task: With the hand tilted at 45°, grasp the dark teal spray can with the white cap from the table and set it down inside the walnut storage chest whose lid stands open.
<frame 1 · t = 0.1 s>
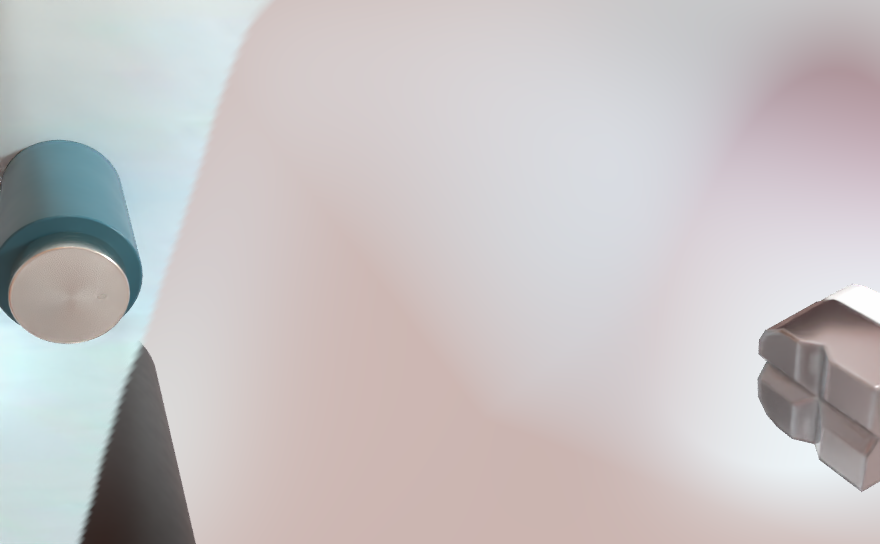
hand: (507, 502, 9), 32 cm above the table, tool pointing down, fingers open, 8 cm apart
spray can: (63, 192, 36), on the table
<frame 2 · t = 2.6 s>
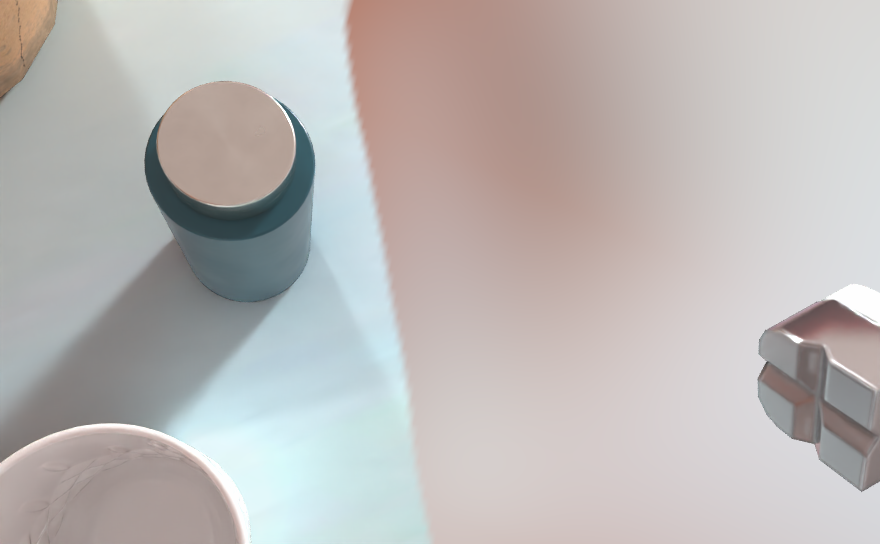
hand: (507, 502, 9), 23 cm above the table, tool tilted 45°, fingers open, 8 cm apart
spray can: (249, 243, 33), on the table
white cup: (160, 537, 30), on the table
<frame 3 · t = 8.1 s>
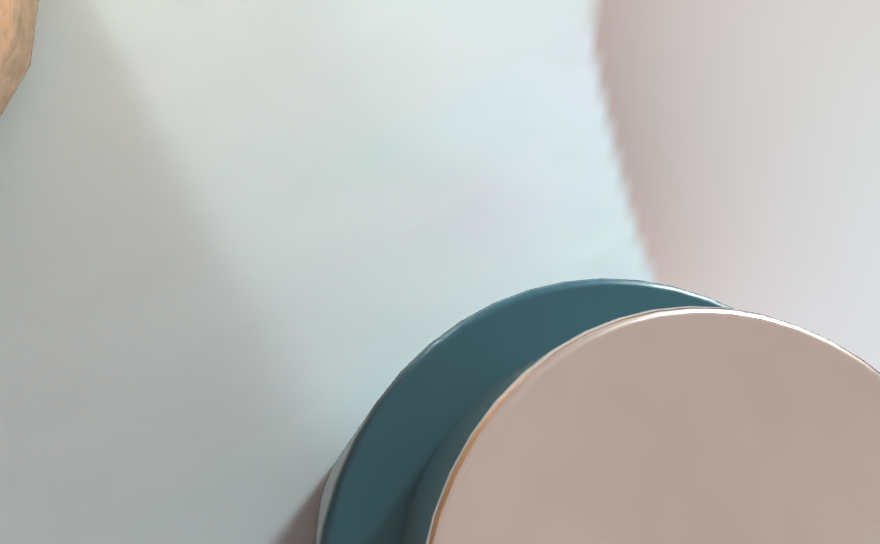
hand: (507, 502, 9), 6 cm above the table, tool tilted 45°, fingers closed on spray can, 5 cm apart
spray can: (449, 527, 15), on the table, touching gripper
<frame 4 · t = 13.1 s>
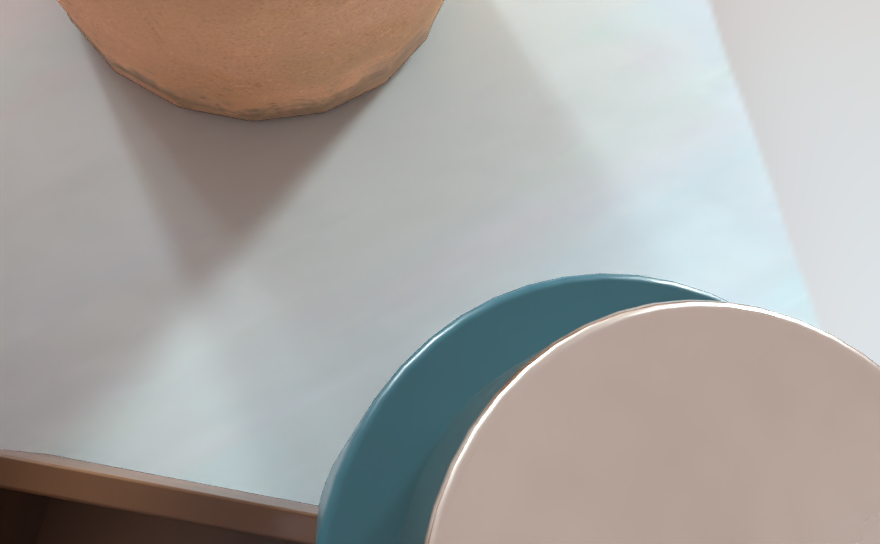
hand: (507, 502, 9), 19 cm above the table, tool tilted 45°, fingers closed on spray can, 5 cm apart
spray can: (449, 525, 15), point 13 cm above the table, touching gripper
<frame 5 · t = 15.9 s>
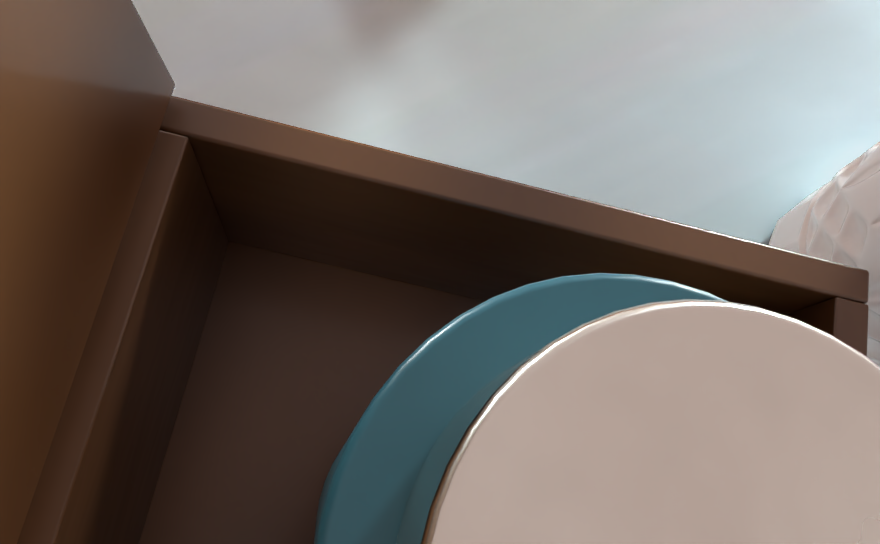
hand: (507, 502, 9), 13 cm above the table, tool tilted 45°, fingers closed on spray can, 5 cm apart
chest: (419, 504, 21), on the table
spray can: (448, 525, 15), point 7 cm above the table, touching gripper
white cup: (849, 288, 26), on the table
when the fingers open (7 cm above the table, at t = 18.0 s): spray can stays where it is, resting on chest.
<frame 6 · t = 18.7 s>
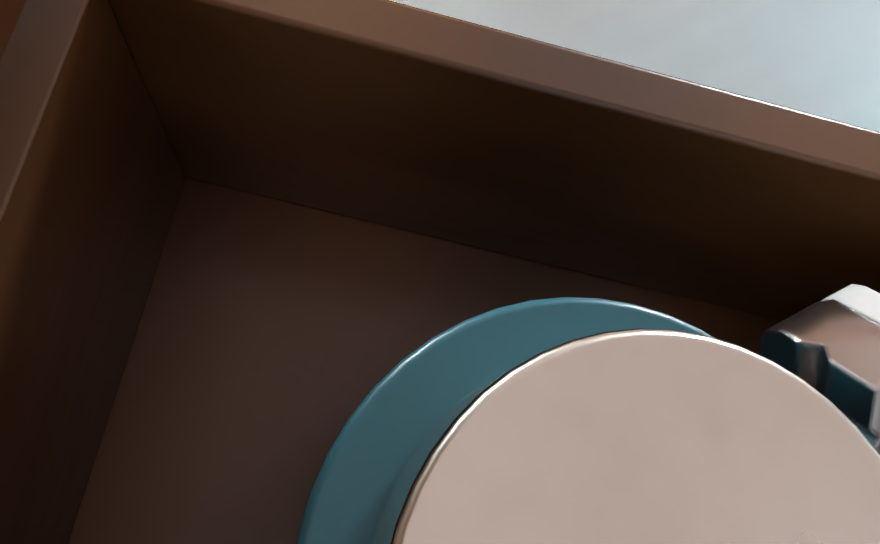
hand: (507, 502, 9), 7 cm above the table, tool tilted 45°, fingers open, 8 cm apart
chest: (437, 523, 16), on the table
spray can: (435, 529, 15), point 1 cm above the table, touching chest
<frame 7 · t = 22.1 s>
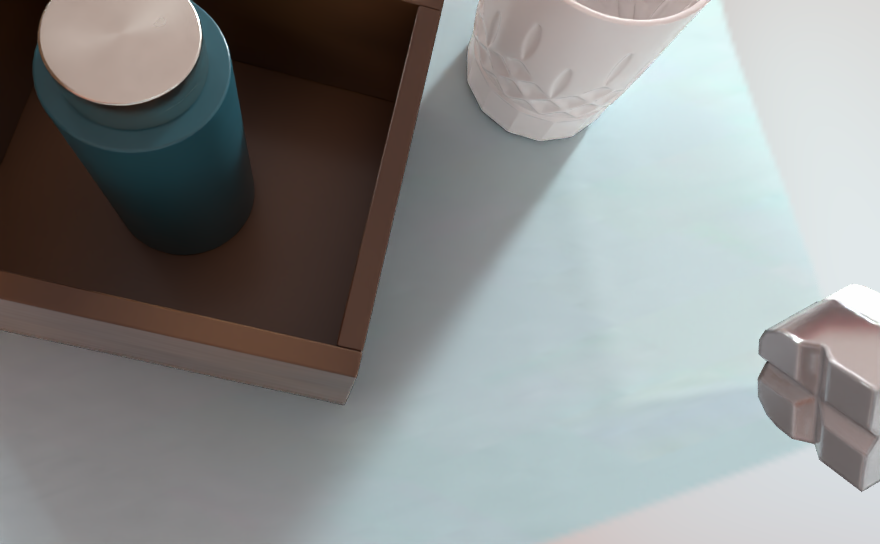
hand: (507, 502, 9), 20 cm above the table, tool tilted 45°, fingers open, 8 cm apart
chest: (194, 197, 31), on the table
spray can: (186, 192, 30), point 1 cm above the table, touching chest
white cup: (535, 77, 35), on the table
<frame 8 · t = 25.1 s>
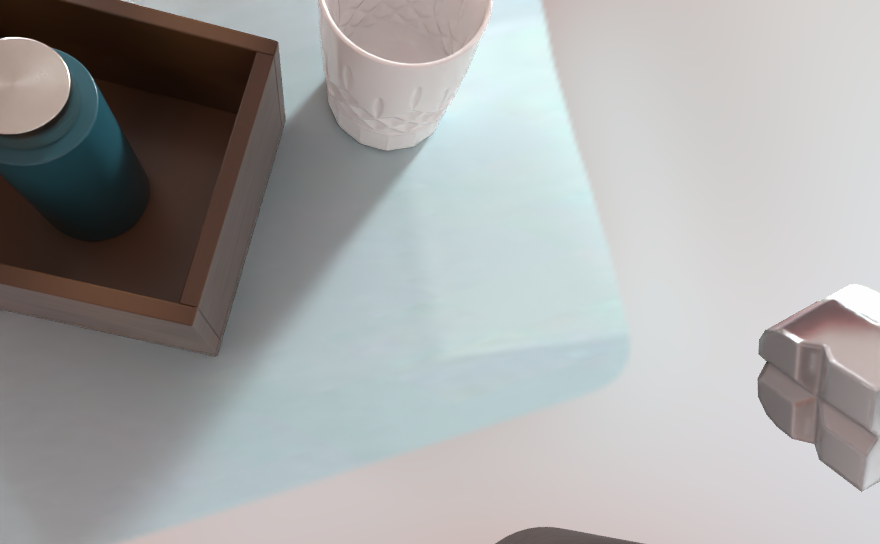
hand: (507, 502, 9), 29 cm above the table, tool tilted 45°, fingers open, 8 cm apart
chest: (104, 197, 39), on the table
spray can: (96, 192, 38), point 1 cm above the table, touching chest
white cup: (387, 99, 43), on the table
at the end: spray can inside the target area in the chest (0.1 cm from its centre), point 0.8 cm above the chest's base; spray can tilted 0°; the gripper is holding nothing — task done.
